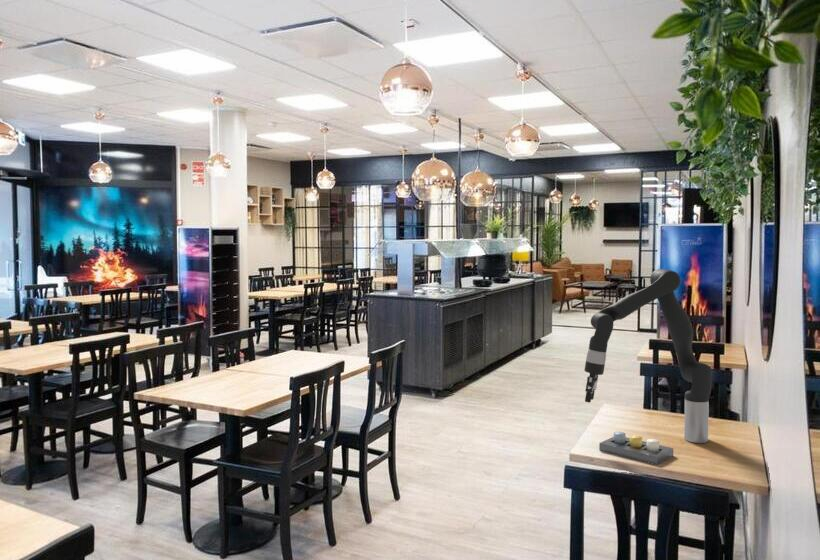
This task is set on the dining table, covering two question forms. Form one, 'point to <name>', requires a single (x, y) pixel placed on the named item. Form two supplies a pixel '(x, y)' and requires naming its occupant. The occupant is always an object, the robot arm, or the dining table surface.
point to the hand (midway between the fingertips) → (589, 400)
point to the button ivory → (652, 445)
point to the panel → (636, 451)
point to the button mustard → (636, 441)
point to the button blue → (620, 438)
